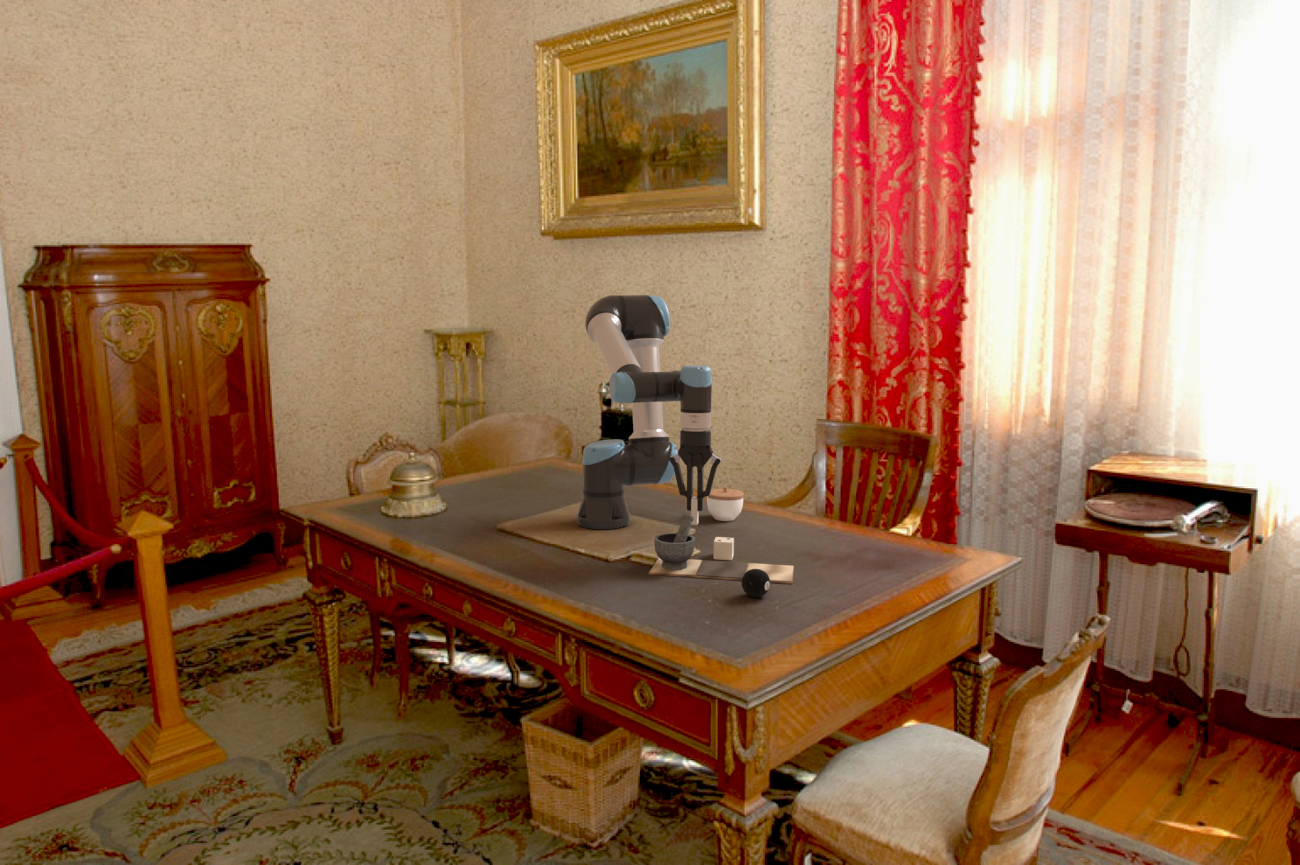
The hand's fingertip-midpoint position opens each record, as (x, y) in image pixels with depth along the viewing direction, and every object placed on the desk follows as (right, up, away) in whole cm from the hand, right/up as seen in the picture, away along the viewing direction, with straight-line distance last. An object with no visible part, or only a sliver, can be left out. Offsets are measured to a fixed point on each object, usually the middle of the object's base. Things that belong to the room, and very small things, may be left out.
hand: (694, 523), depth 224 cm
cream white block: (+7, -8, 0) cm, 11 cm away
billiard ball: (+12, -13, -29) cm, 34 cm away
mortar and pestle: (-5, -9, -9) cm, 14 cm away
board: (+6, -10, -11) cm, 16 cm away
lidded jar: (+11, -3, +39) cm, 40 cm away
